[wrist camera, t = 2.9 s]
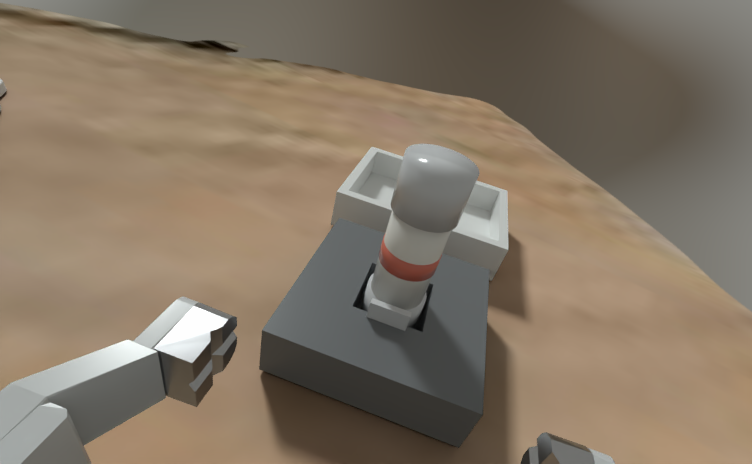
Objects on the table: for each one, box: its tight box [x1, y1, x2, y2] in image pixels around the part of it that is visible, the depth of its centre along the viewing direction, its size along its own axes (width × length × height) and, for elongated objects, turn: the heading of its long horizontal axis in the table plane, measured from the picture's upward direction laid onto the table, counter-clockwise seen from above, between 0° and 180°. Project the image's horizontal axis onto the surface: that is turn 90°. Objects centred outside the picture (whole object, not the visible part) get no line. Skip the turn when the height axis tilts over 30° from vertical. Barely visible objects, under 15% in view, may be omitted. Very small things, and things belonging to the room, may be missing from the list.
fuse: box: [360, 144, 479, 329], centre depth 23 cm, size 4×4×12 cm
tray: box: [331, 147, 508, 281], centre depth 38 cm, size 15×11×4 cm
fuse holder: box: [259, 218, 489, 448], centre depth 26 cm, size 12×12×5 cm
